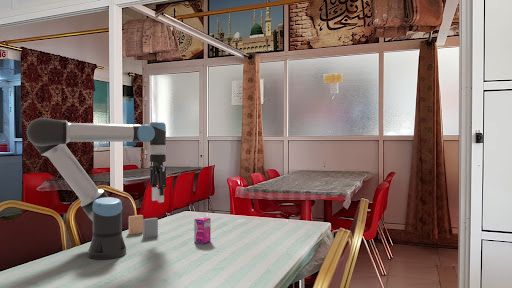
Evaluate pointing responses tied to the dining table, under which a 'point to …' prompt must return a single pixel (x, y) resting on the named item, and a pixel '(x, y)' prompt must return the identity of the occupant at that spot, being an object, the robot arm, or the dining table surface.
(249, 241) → the dining table surface
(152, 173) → the robot arm
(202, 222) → the supplement box
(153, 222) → the slate tile
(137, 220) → the terracotta tile
